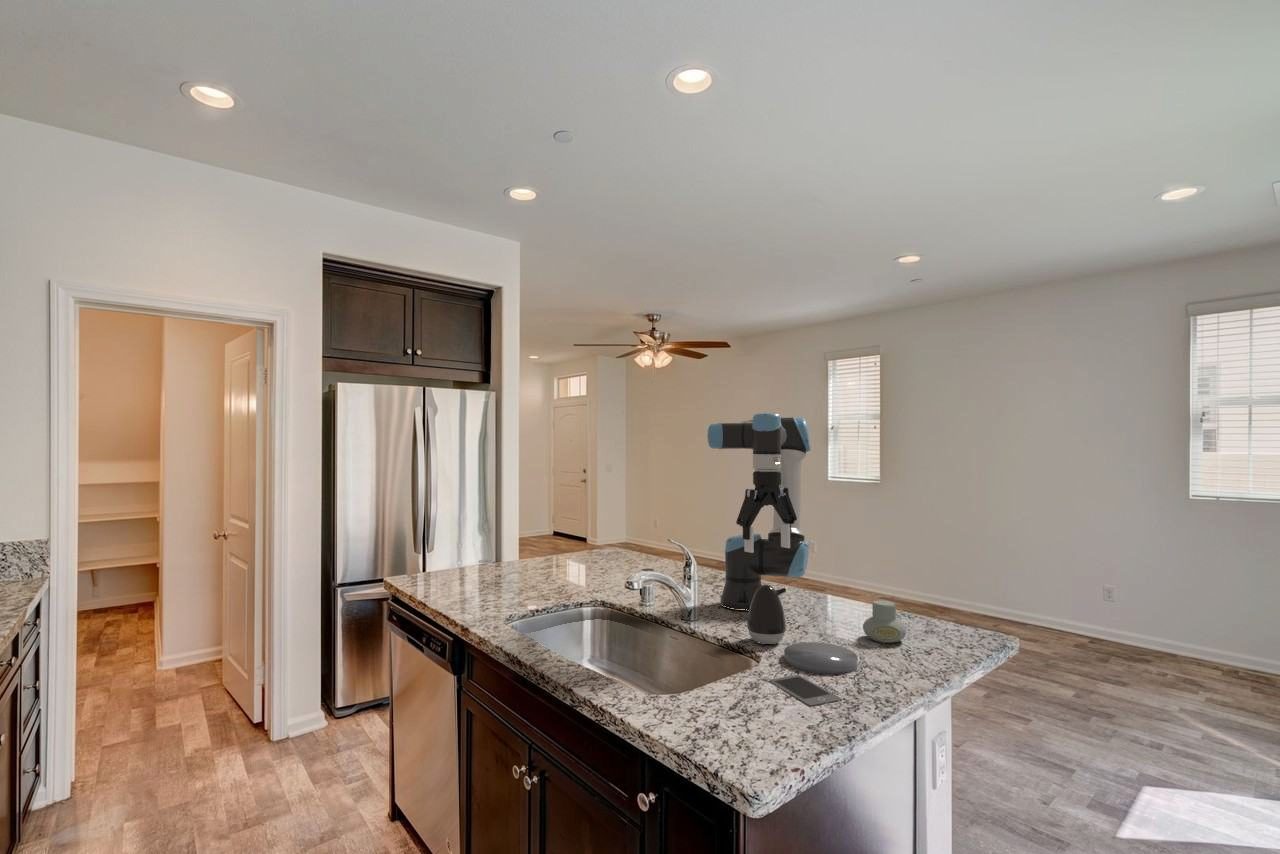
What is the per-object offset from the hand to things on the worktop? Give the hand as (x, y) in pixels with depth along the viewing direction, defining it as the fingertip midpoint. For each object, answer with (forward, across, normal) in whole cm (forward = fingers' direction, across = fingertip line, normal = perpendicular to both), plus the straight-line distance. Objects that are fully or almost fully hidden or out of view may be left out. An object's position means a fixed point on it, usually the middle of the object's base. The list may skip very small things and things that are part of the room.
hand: (767, 549), depth 164 cm
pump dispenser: (+25, 0, 0) cm, 25 cm away
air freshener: (+25, +28, -16) cm, 40 cm away
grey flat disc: (+25, 0, -18) cm, 30 cm away
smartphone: (+25, -17, -28) cm, 41 cm away
